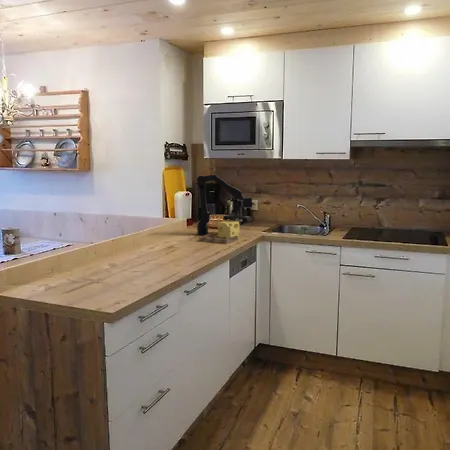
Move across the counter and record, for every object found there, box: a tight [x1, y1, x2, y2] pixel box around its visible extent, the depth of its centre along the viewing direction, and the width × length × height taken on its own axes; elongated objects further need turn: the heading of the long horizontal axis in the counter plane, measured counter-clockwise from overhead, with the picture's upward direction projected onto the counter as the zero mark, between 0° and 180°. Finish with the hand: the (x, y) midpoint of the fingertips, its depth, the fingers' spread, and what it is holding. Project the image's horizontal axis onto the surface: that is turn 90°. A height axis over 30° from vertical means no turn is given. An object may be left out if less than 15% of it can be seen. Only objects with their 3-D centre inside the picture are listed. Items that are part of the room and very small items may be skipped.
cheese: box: [217, 220, 241, 239], centre depth 288 cm, size 10×11×10 cm
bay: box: [198, 233, 239, 245], centre depth 277 cm, size 20×14×2 cm
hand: (237, 230), depth 298 cm, fingers closed
